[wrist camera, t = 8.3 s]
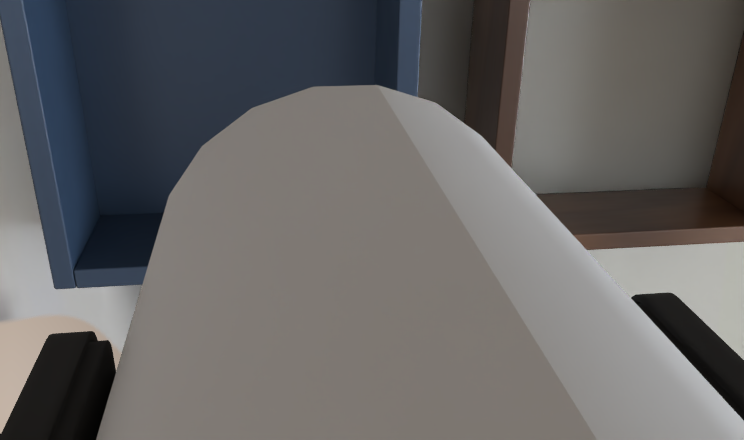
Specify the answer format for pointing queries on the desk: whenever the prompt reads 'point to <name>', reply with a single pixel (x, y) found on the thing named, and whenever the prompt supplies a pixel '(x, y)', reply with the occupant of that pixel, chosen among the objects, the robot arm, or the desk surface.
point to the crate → (614, 208)
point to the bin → (168, 100)
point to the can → (385, 296)
